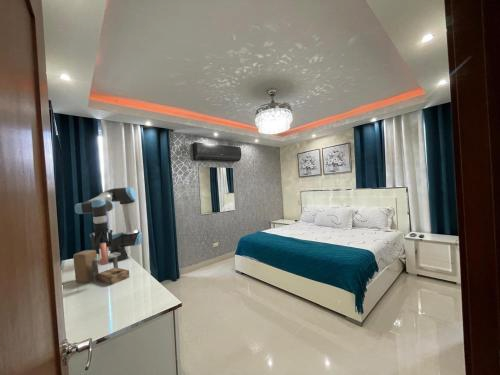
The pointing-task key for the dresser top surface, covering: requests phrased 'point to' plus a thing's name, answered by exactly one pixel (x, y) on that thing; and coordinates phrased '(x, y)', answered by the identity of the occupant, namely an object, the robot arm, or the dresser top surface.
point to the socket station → (109, 271)
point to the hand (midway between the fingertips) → (103, 257)
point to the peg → (103, 254)
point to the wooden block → (84, 265)
